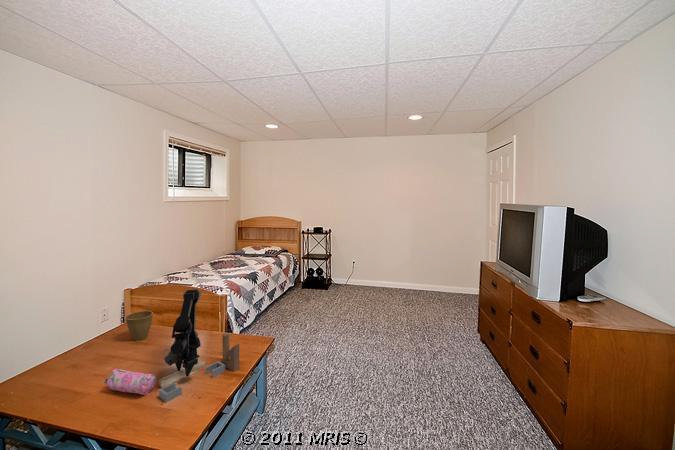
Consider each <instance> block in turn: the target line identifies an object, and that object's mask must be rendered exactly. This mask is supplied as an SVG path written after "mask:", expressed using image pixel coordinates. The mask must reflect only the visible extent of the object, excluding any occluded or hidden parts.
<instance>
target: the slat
mask: <svg viewBox="0 0 675 450" xmlns="http://www.w3.org/2000/svg"><path fill="white" fill-rule="evenodd" d="M204 368H206V362H205V361H203V360H200V361H198V364H196V365H194V366H193V368H192V370H191V372H190V374H189V375H191V374H193V373H195V372H198V371H200V370H202V369H204ZM185 377H186V373H185V368H183V369H182V368H181V370H180V371H178V370H177V372H176V371H175V372H174V373H172V374H169V375H167V376H165V377H162V378H161V379H158V386H159V387H161V388H163V387H165V386H167V385H170V384H172V383H174V382H176V381H178V380H180V379H183V378H185Z"/></svg>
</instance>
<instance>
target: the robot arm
mask: <svg viewBox="0 0 675 450" xmlns="http://www.w3.org/2000/svg"><path fill="white" fill-rule="evenodd" d="M201 293H202V292H201V290H199V289H196V288H195V289H187V290H186V291H184V292H183V294H182V296H183V297H182V306H181V309H180V310H181V311H180V314H179V316H178V317H177V318H176V320H175V323H174V324H173V326H172V327H173V329H172V334H171V339H174V341H173V343H172V345H171V346H170V351H169V352H168V354H167V355H165V357H163V360H164V362H165V364H166V365H168V367H169V366H172V365H175V367H176V370H177V372H178V371H180V370H182V368H183V369H184V368H185V373H186V376H185V377H186V378H187V377H189V376H190V375H191V374H190V372H191V370H192V368H193V366H194V365H196V364H198V362H199V359H198V358H199V357H200V355H199V354H198V349H199V348H200V347H201V340H200V337H199V334H198V332H197V330H196V320H197V319H196V317H197V304H198V303H199V301H200V298H201Z"/></svg>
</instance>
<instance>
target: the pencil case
mask: <svg viewBox="0 0 675 450" xmlns="http://www.w3.org/2000/svg"><path fill="white" fill-rule="evenodd" d="M156 381H157V376H156V375H155V374H153V373H142V372H138V371H128V370H126V369H125V370H124V369H122V368H115V369H113V370H111V375H109V377H108V378H105V380H104V384H106V388H107V389H109V390H112V391H119V392H123V393H130V394H131V393H132V394H139V395H144V396H146V395H147V394H149V392H151V390H152V389H153V388H154V387H155V384H156Z"/></svg>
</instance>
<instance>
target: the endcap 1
mask: <svg viewBox="0 0 675 450" xmlns="http://www.w3.org/2000/svg"><path fill="white" fill-rule="evenodd" d="M176 386H177V383H176V381H174V382H172V383H170V384H168V385H166V386H164V387H161V388H160V389H158V398H160V399H161V400H162V401H163V402H164V403H168V402H170V401H172V400H174V399H175V398H177V397H179V396H181V395H182V394H183V393H182V391H183V387H182V386H180V385H179V386H177V387H176Z"/></svg>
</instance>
